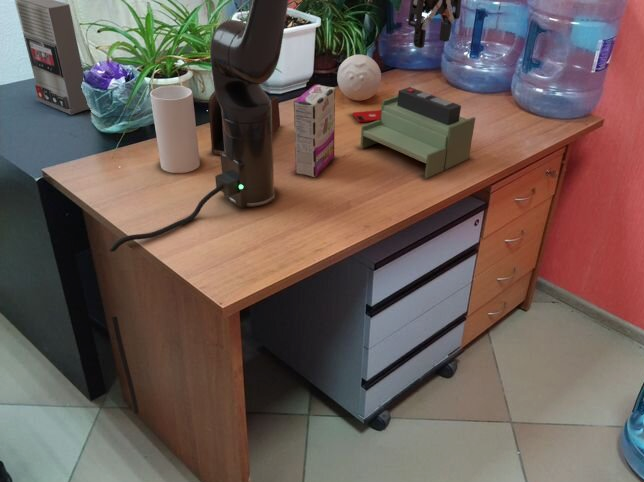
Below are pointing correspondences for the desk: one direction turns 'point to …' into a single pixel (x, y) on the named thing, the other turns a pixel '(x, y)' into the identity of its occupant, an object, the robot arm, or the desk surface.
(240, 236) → the desk surface
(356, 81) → the decorative ball
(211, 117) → the letter holder
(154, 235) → the robot arm
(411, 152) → the step shelf
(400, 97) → the remote
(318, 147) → the candy bar box
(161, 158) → the cup
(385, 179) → the desk surface
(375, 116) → the electronic device
